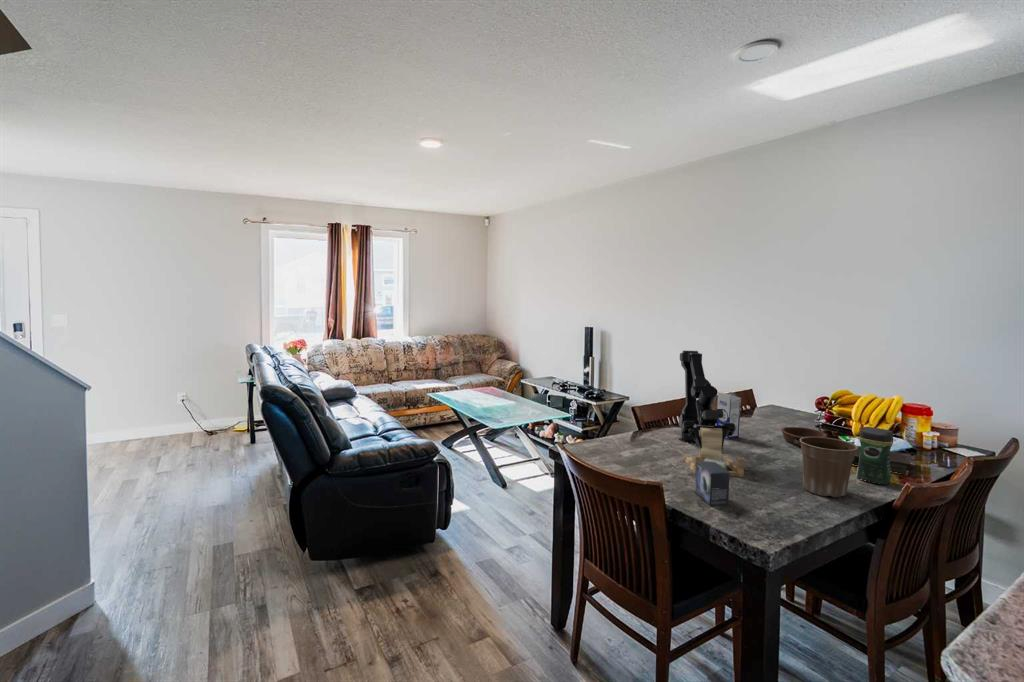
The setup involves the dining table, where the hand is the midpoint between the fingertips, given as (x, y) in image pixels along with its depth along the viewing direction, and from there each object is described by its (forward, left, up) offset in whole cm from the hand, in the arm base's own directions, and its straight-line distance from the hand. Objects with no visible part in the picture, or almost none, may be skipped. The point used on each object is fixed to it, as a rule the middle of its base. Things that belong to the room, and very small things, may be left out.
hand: (711, 448), depth 194 cm
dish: (-10, +63, -8) cm, 64 cm away
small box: (+23, -22, -7) cm, 33 cm away
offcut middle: (+4, -3, -6) cm, 8 cm away
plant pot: (+32, +18, -7) cm, 37 cm away
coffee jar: (+32, +43, -7) cm, 54 cm away
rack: (+2, -1, -7) cm, 7 cm away
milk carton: (-29, +39, -7) cm, 49 cm away
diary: (+19, +62, -8) cm, 65 cm away
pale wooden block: (-1, +1, -7) cm, 7 cm away
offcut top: (+4, -2, -5) cm, 7 cm away
